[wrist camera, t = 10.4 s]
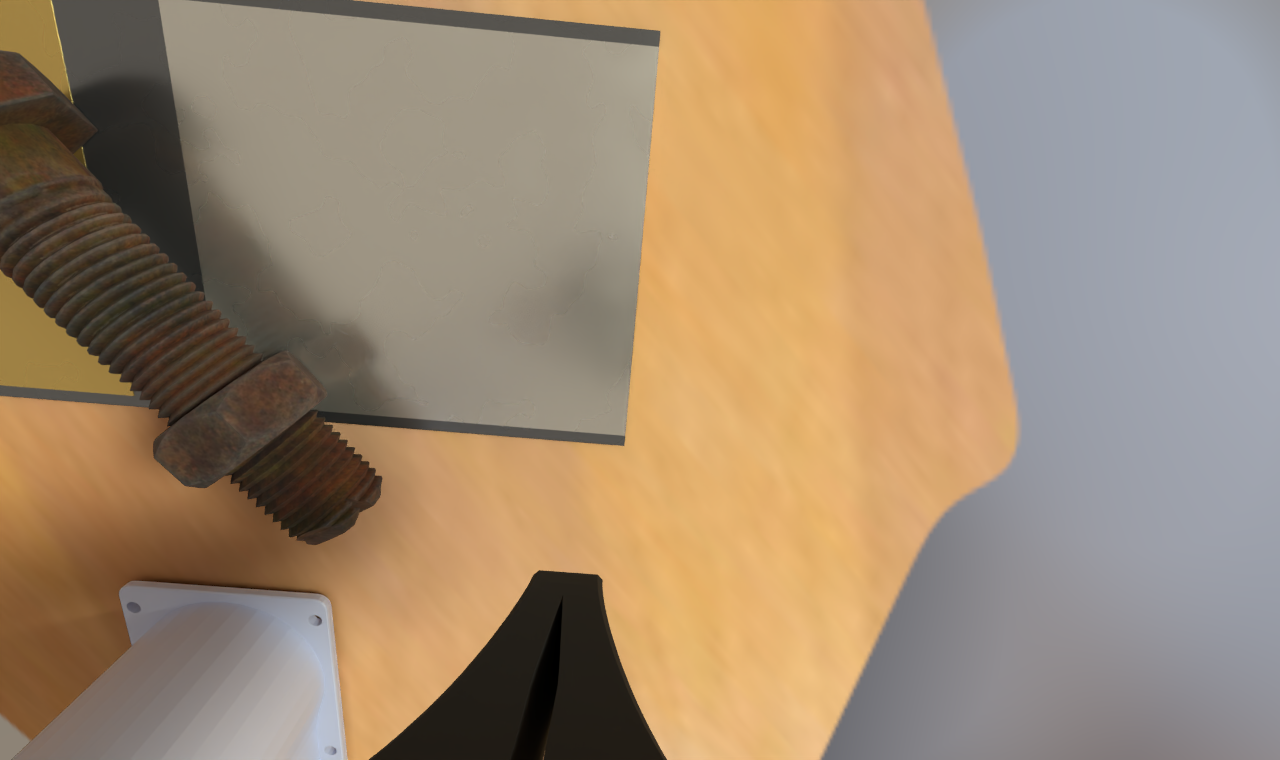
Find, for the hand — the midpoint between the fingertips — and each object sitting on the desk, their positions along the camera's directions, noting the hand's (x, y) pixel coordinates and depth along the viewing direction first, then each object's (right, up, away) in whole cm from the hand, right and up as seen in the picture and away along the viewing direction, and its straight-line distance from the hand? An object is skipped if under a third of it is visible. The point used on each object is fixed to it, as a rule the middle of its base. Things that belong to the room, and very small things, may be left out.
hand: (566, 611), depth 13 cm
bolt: (-12, +7, +7) cm, 16 cm away
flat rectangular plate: (-12, +10, +6) cm, 17 cm away
